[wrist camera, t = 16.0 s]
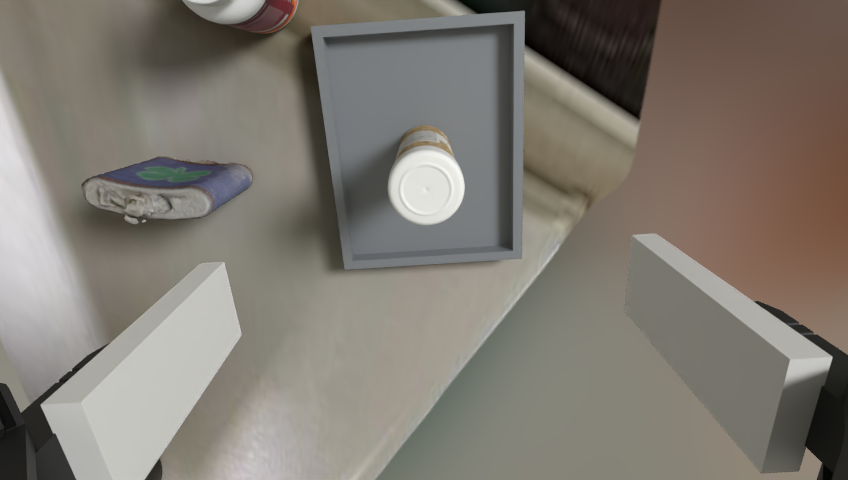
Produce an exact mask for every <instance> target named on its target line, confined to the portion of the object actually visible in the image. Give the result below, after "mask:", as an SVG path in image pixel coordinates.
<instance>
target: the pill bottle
mask: <svg viewBox="0 0 848 480" xmlns="http://www.w3.org/2000/svg"><path fill="white" fill-rule="evenodd" d="M182 1H183V2H184V3H185V4H186V5H187V6H188V7H189V8H190V9H191V10H192V11H193V12H195V13H196V14H198V15H199V16H201V17H203V18H205V19H207V20H209V21H212V22H215V23H219V24H223V25H227V26H231V27H235V28H239V29H242V30H246V31H250V32H254V33H272V32H275V31H278V30H280V29H282V28H283V27H284V26H286V25H287V24H288V23H289V22H290V21H291V19H292V18H293V16H294V14H295V12H296V10H297V6H298V1H299V0H182Z"/></svg>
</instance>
